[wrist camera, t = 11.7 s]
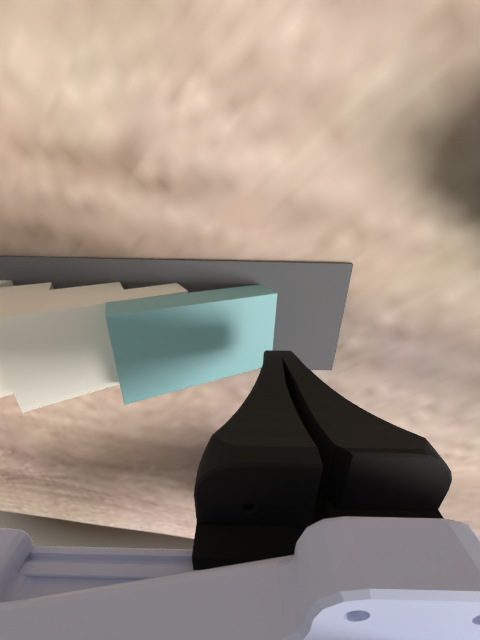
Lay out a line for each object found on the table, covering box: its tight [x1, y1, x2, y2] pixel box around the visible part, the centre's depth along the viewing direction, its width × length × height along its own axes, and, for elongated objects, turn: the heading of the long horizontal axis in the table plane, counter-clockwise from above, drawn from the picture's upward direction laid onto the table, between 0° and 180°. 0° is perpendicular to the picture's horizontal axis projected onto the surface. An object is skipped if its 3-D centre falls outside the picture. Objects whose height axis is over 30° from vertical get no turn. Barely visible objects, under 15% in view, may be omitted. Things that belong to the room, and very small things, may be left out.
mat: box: [0, 256, 353, 370], centre depth 17 cm, size 8×24×1 cm, turn 89°
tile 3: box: [0, 282, 124, 397], centre depth 14 cm, size 5×2×9 cm
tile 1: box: [105, 284, 277, 405], centre depth 15 cm, size 5×2×9 cm
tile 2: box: [0, 283, 188, 413], centre depth 14 cm, size 5×2×9 cm
